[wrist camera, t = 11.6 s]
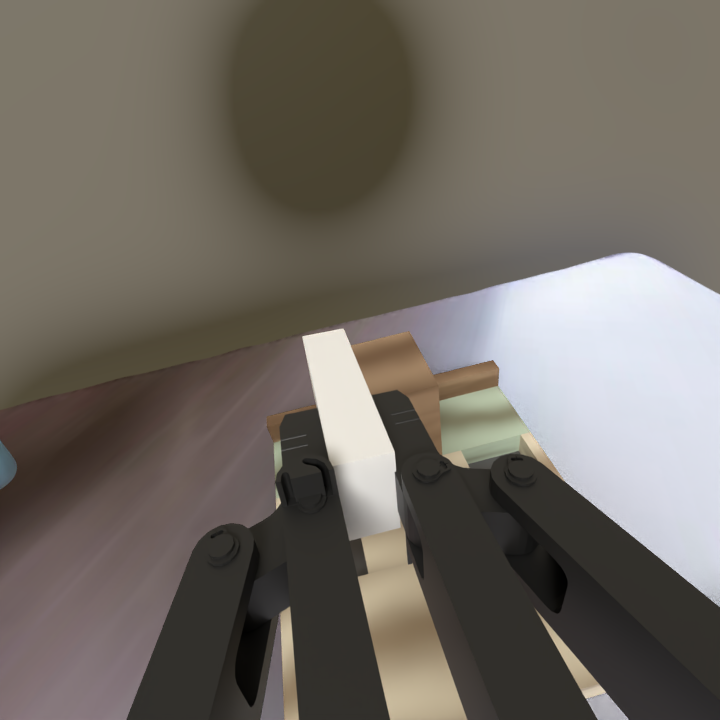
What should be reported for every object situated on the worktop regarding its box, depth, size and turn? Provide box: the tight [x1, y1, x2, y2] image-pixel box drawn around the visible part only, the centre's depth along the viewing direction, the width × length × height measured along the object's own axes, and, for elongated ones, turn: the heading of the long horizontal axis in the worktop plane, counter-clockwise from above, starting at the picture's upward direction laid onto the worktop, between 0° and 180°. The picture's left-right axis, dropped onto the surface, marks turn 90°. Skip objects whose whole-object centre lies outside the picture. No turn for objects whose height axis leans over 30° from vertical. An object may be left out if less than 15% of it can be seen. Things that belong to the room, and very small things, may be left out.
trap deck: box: [267, 360, 606, 720], centre depth 36 cm, size 28×25×6 cm
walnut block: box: [351, 331, 442, 455], centre depth 39 cm, size 8×8×10 cm
